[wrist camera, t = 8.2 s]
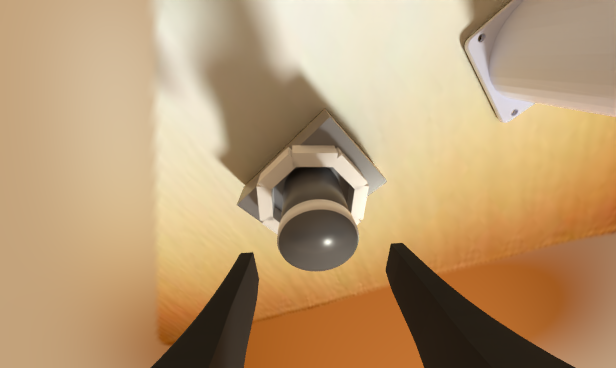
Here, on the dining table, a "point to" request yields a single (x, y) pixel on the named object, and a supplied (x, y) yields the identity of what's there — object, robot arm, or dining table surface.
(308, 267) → the lens
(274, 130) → the dining table surface
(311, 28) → the dining table surface
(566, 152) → the dining table surface
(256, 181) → the octagonal ring base
